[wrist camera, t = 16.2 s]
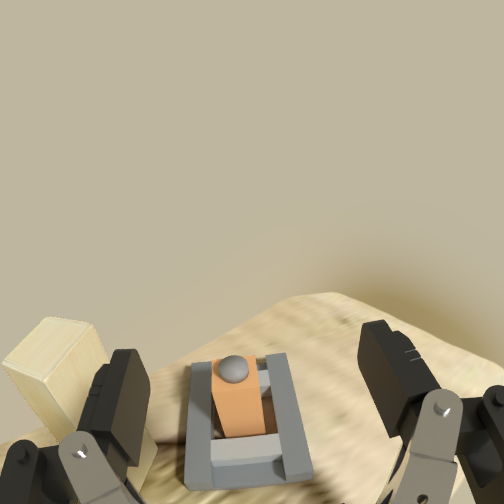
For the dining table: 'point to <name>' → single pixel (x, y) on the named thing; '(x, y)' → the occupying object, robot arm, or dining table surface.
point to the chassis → (246, 448)
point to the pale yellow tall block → (65, 379)
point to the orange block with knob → (238, 396)
